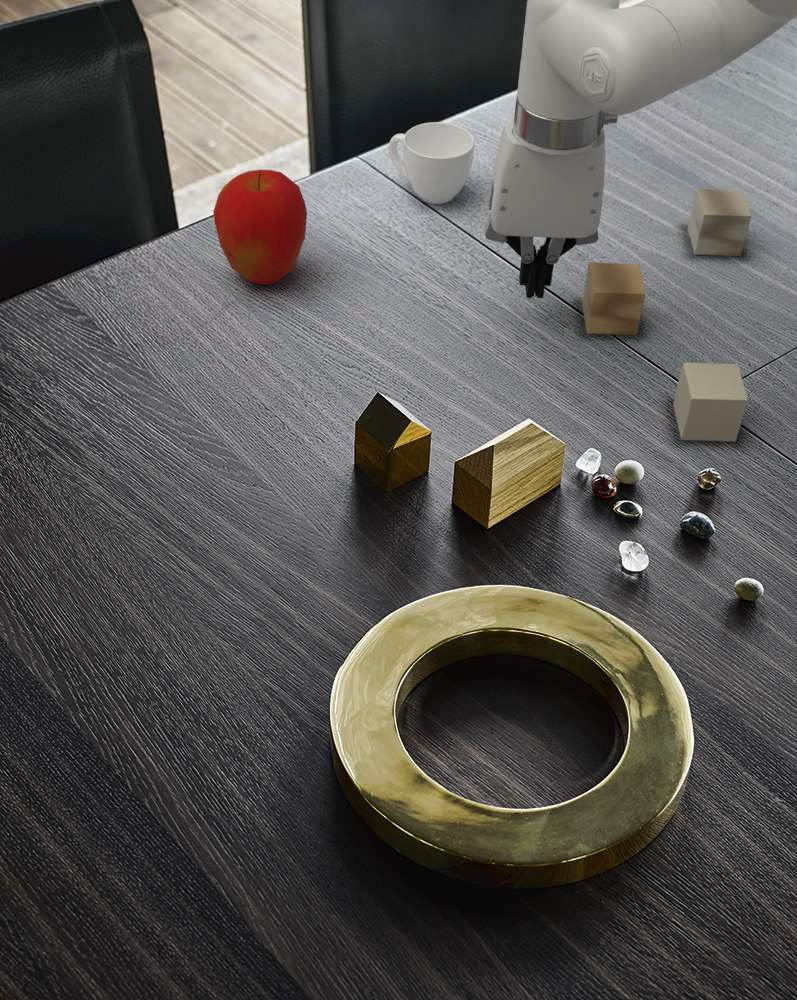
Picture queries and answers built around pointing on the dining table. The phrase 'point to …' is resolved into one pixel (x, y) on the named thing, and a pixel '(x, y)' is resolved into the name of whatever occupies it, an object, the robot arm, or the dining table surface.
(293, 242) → the apple
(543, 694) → the dining table surface
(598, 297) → the maple block
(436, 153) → the cup
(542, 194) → the robot arm
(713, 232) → the ash block
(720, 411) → the cream block
